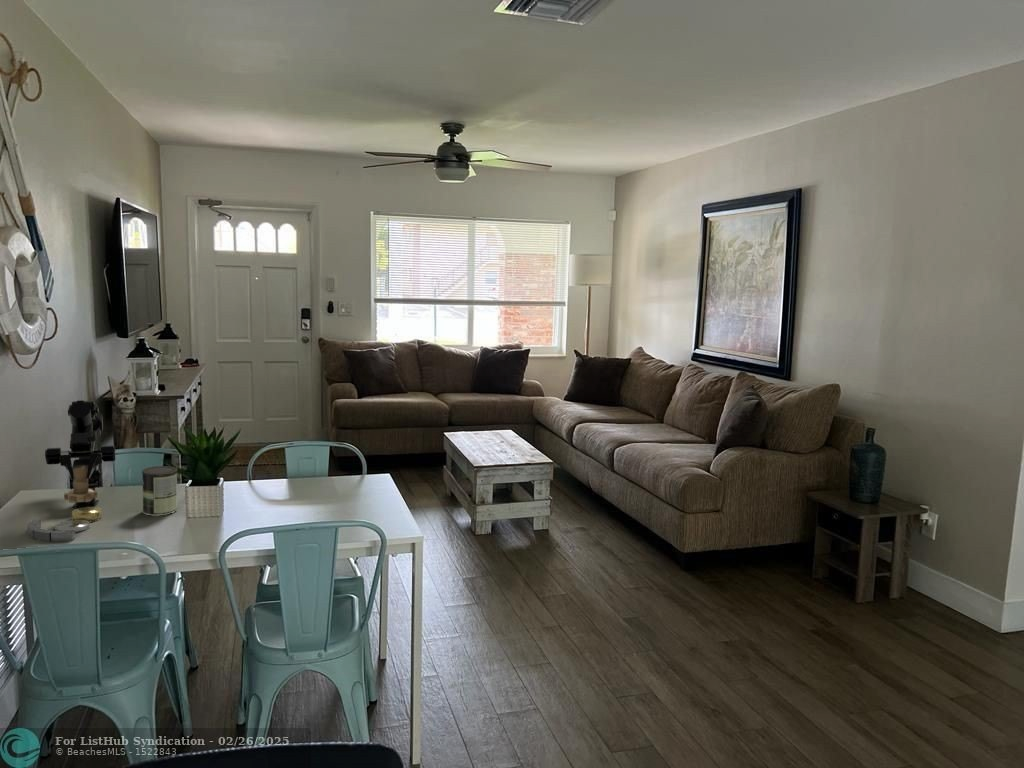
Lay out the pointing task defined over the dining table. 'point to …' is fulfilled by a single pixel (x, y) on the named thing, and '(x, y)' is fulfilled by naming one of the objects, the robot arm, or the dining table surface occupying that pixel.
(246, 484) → the dining table surface
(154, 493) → the coffee can
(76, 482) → the gear
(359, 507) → the dining table surface
